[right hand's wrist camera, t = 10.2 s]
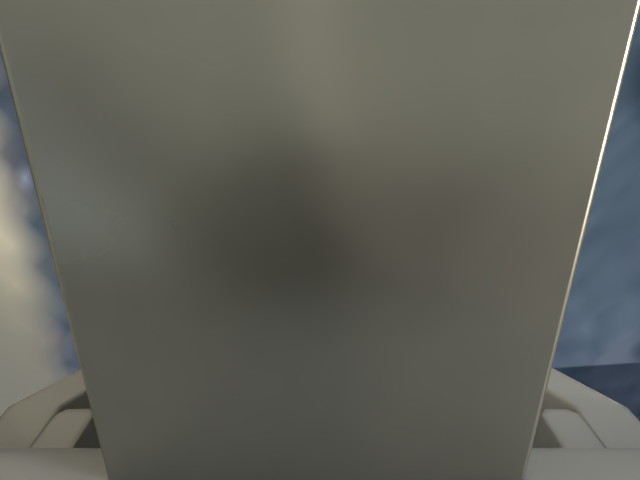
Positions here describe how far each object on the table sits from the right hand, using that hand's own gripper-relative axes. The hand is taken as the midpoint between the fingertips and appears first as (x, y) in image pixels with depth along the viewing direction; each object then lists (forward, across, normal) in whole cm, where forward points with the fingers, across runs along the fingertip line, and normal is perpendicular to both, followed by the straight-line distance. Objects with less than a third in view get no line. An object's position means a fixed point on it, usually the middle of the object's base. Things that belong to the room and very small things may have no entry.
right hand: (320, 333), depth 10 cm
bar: (+4, 0, +10) cm, 11 cm away
